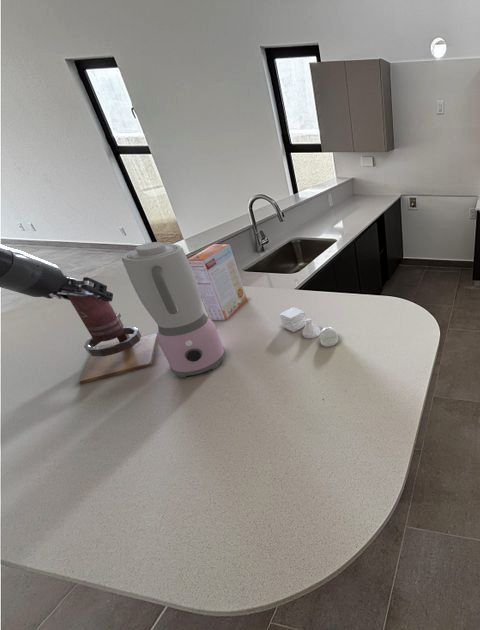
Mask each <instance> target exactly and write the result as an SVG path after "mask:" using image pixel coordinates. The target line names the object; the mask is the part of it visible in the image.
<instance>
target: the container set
mask: <svg viewBox="0 0 480 630" xmlns="http://www.w3.org/2000/svg"><path fill="white" fill-rule="evenodd" d="M279 316H280V317H279V318H280V321H281V324H282V328H284V329H286V330H288V331H291V332H292V333H295V332H296V331H299V330H301V329H302V328H303V329H302V331H301V332H302V336H303V337H304V338H306V339H313V338H316V337H318V336H319V342H320V345H322V346H324V347H332V346H334V345H336V344H337V343H338V342H339V337H338V332H337V330H336V329H335V328H333V327H332V326H326V327H323V328H322V329H321V328H320V327H319V326H318V325H317V324H315V323H314V321H313V319H312V318H310V317H309V318H308V317H306V313H305V311H304V310H302V309H300V308H297V307H294V306H293V307H291V308H289V309H286V310H284V311H282V312H280V314H279Z"/></svg>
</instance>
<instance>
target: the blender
mask: <svg viewBox="0 0 480 630" xmlns="http://www.w3.org/2000/svg"><path fill="white" fill-rule="evenodd" d="M188 259H189V258H188V257H187V255H186V252H185V250H184V248H183V247H182V246H181V245H179V244H175V243H165V242H163V241H152V242H146V243H142V244H139V245H137V246H136V247H135V249H133V250H130V251H128V252H125V254H123V255H122V257H121V262H122V263H123V266H124V268H125V271H126V273H127V276H128V278H129V281H130V283H131V285H132V287H133V289H134V291H135V293H136V296H137V297H138V299H139V301H140V302H141V304H142V305H143V306H144V308H145V310H146V311H147V312H148V314H149V315H150V317H151V318H152V320H154V322H155V323H156V325H157V330H158V331H157V334H158V338H157V343H158V345H159V347H160V349H161V351H162V353H163V355H164V357H165V359H166V361H167V362H168V363H167V364H168V365H169V367H170V369H171V371H172V373H173V374H174V375H177V377H179V378H187V377H189V376H194V375H199V374H202V373H203V374H204V373H205V372H208V371H210V370H212V371H213V370H215V369H217V368H219V367H220V366H221V363H222V362H223V361H224V359H225V357H226V355H227V353H226V350H225V347H224V346H223V342H222V340H221V336H220V334H219V332H218V329H217V327H216V325H215V323H214V321H213V320H211V319H210V318H209V316H208V315H206V314H205V312H204V308H203V302H202V299H201V296H200V291H199V287H198V284H197V281H196V278H195V276H194V273H193V270H192V268H191V265H190V263H189V261H188Z"/></svg>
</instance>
